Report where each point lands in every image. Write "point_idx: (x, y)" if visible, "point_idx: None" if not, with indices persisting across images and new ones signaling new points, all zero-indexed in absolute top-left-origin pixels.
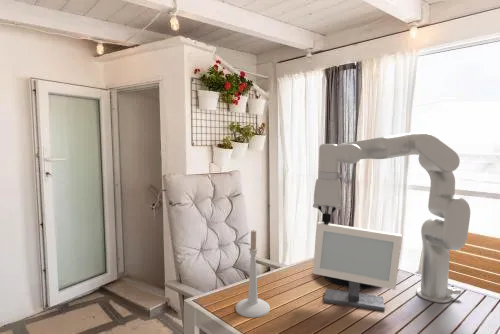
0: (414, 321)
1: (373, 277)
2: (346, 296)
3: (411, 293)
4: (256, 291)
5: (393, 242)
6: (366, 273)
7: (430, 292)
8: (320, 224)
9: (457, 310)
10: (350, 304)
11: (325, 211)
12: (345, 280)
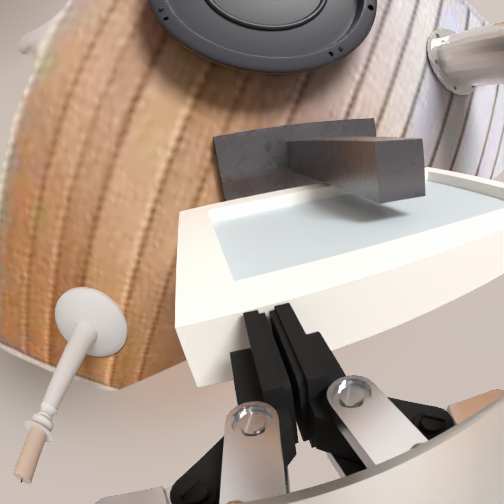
0: None
1: None
2: (284, 161)
3: (419, 58)
4: (86, 350)
5: None
6: None
7: (460, 81)
8: (224, 379)
9: (480, 118)
10: None
11: (289, 452)
12: (268, 74)
